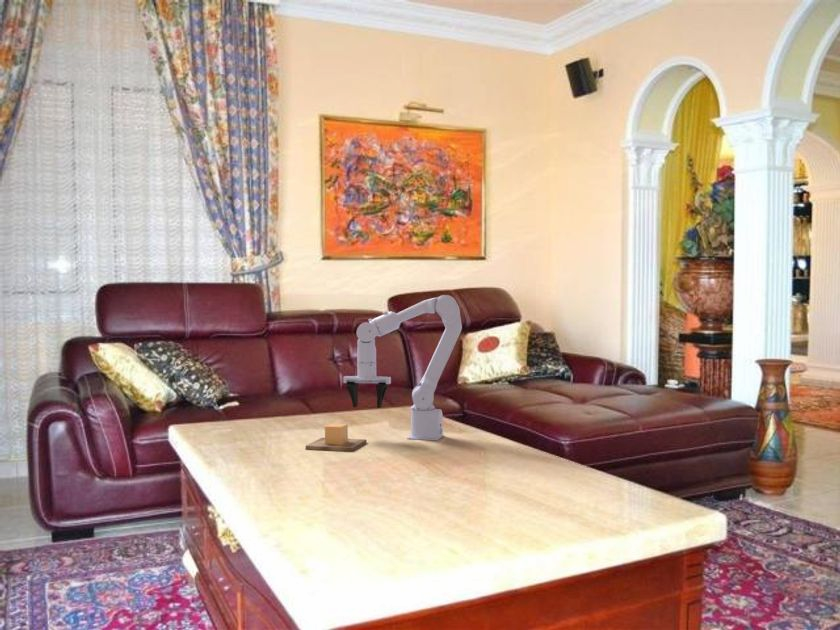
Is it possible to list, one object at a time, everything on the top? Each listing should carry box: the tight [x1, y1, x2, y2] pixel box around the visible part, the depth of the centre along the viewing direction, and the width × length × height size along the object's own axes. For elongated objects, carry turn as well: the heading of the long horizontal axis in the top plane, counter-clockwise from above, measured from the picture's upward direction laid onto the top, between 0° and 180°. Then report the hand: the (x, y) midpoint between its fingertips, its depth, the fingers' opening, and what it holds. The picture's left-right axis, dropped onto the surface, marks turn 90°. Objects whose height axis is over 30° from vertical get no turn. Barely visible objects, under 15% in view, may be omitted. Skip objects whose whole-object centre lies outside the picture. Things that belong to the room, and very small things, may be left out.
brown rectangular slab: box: [305, 437, 368, 452], centre depth 213 cm, size 14×12×5 cm
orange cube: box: [324, 423, 349, 445], centre depth 213 cm, size 5×5×5 cm
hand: (367, 407), depth 224 cm, fingers open, 7 cm apart
